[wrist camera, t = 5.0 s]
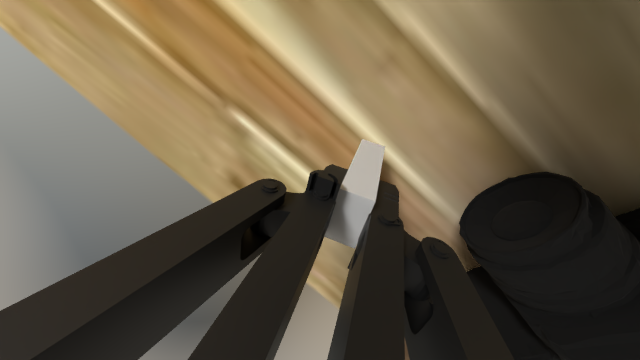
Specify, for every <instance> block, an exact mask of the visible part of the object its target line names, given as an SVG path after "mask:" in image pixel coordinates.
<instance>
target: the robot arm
mask: <svg viewBox="0 0 640 360" xmlns="http://www.w3.org/2000/svg"><path fill="white" fill-rule="evenodd" d="M384 150H385V146H382V145H379V144H376V143H373V142H370V141H367V140H364V139H362V141H361V143H360V145H359V147H358V150H357V152H356V154H355V156H354V158H353V160H352V163H351V165H350V167H349V169H348V170H347V169H344V168H341V167H339V166H336V165H333V164H332V165H329V166H327V167H326V168H325V169H324V170H316V171H313V172H311V173H310V176H309V180H308V184H307V188H306V191H305V192H304V193H291V192H286V187H285V185H284V184H283V183H282V182H280V181H277V180H275V179H261V180H258V181H256V182H254V183H252V184H250V185H248V186H246V187H244V188H242V189H240V190H238V191H236V192H234V193H232V194H230V195H228V196H227V197H225V198H223V199H221V200H219V201H217V202H215V203H213V204H211V205H209V206H207V207H205V208H203V209H201V210H199V211H197V212H195V213H193V214H191V215H189V216H187V217H185V218H183V219H181V220H179V221H177V222H175V223H173V224H171V225H169V226H167V227H165V228H163V229H161V230H159V231H157V232H155V233H153V234H151V235H150V236H147V237H146V238H144V239H142V240H140V241H138V242H136V243H134V244H132V245H130V246H128V247H126V248H124V249H122V250H120V251H118V252H116V253H114V254H112V255H110V256H108V257H106V258H104V259H102V260H100V261H98V262H96V263H94V264H92V265H90V266H88V267H86V268H84V269H82V270H80V271H79V272H76V273H74V274H72V275H70V276H68V277H66V278H64V279H62V280H60V281H59V282H57V283H55V284H53V285H51V286H49V287H47V288H45V289H43V290H41V291H39V292H37V293H35V294H33V295H31V296H29V297H27V298H25V299H23V300H21V301H19V302H17V303H15V304H13V305H11V306H9V307H7V308H5V309H3V310H1V311H0V360H138V359H139V358H140V357H141V356H143V355H144V354H145V353H146V352H147V351H148V350H149V349H151V348H152V347H153V346H154V345H155V344H156V343H157V342H159V341H160V340H161V339H162V338H163V337H165V336H166V335H167V334H168V333H169V332H170V331H172V330H173V329H174V328H175V327H176V326H177V325H178V324H180V323H181V322H182V321H183V320H184V319H185V318H187V317H188V316H189V315H190V314H191V313H192V312H194V311H195V310H196V309H197V308H198V307H199V306H201V305H202V304H203V303H204V302H205V301H206V300H207V299H209V298H210V297H211V296H212V295H213V294H214V293H216V292H217V291H218V290H219V289H220V288H221V287H223V286H224V285H225V284H226V283H227V282H228V281H230V280H231V279H232V278H233V277H234V276H235V275H237V274H238V273H239V272H240V271H241V270H242V269H243V268H245V267H246V266H247V265H248V264H249V263H250V262H251V261H253V260H254V259H255V258H256V257H257V256H259V255H260V254H261V253H262V254H261V255H260V257H259V258H258V260H257V261H256V263H255V264H254V265H253V267H252V268H251V270H250V271H249V273H248V274H247V276H246V277H245V278H244V280H243V281H242V283H241V284H240V286H239V287H238V288H237V290H236V291H235V293H234V294H233V296H232V297H231V298H230V300H229V301H228V303H227V304H226V306H225V307H224V308H223V310H222V311H221V313H220V314H219V316H218V317H217V318H216V320H215V321H214V323H213V324H212V326H211V327H210V329H209V330H208V331H207V333H206V334H205V336H204V337H203V339H202V340H201V341H200V343H199V344H198V346H197V347H196V349H195V350H194V351H193V353H192V354H191V356H190V357H189V359H188V360H274V357H275V355H276V352H277V350H278V348H279V345H280V343H281V340H282V338H283V336H284V333H285V331H286V328H287V326H288V323H289V321H290V319H291V316H292V314H293V312H294V309H295V307H296V304H297V302H298V300H299V297H300V295H301V292H302V290H303V287H304V285H305V283H306V280H307V278H308V276H309V273H310V271H311V268H312V266H313V264H314V261H315V259H316V256H317V254H318V252H319V249H320V247H321V244H322V241H323V238H324V237H327V238H329V239H332V240H334V241H337V242H339V243H342V244H344V245H347V246H350V247H352V248H355V247H356V245H357V247H356V250H355V252H354V254H353V257H352V259H351V261H350V264H349V266H348V269H349V273H348V277H347V281H346V285H345V289H344V293H343V297H342V301H341V306H340V310H339V314H338V318H337V322H336V326H335V330H334V334H333V338H332V343H331V347H330V351H329V355H328V359H327V360H405V341H406V345H407V350H408V354H409V359H410V360H514V358H513V356H512V354H511V352H510V351H509V349H508V347H507V345H506V343H505V342H504V340H503V338H502V336H501V334H500V333H499V331H498V329H497V327H496V325H495V323H494V322H493V320H492V318H491V316H490V314H489V313H488V311H487V309H486V307H485V305H484V303H483V302H482V300H481V298H480V296H479V294H478V293H477V291H476V289H475V287H474V285H473V283H472V282H471V280H470V278H469V276H468V274H467V273H466V271H465V269H464V267H463V265H462V263H461V262H460V260H459V258H458V256H457V254H456V253H455V252H454V250H453V249H452V248H451V247H450V246H449V245H447V244H446V243H445V242H443V241H441V240H439V239H436V238H433V237H426V238H423V240H422V241H421V242H420V241H419V240H417V239H415V238H414V237H412V236H411V235H409V234H408V233H407V232H406V231H404V226H403V222H402V220H401V219H400V218H399V203H398V202H399V191H398V189H397V188H396V186H395V185H392V184H390V183H387V182H384V181H381V180H379V179H380V173H381V167H382V162H383V156H384Z"/></svg>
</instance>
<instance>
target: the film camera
mask: <svg viewBox="0 0 640 360" xmlns="http://www.w3.org/2000/svg"><path fill="white" fill-rule="evenodd" d="M459 224H460V235H461V236H462V237H463V239H464V240H465V242H466V244H467V247H468V250H469V251H470V253H471V254H472V256H473V257H474V259H475V260H476V261H477V262H478V263H479V264H480V265H481V267H477V268H474V269H472V270H470V271H468V272H467V274H468V276H469V278H470V280H471V282H472V283H473V285H474V287H475V289H476V291H477V293H478V294H479V296H480V298H481V300H482V302H483V303H484V305H485V307H486V309H487V311H488V313H489V314H490V316H491V318H492V320H493V322H494V323H495V325H496V327H497V329H498V331H499V333H500V334H501V336H502V338H503V340H504V342H505V343H506V345H507V347H508V349H509V351H510V352H511V354H512V356H513V358H514V360H640V208H639V209H637V210H634V211H631V212H628V213H626V214H623V215H620V216H617V217H614V215H613V214H612V213H611V211H610V210H609V209H608V207H607V206H606V205H605V204H604V202H603V201H602V200H601V199H600V197H599V196H597V195H595V194H593V193H591V192H589V191H587V190H585V189H583V188H582V186H581V185H580V184H578V183H577V182H576V181H574V180H573V179H572V178H569V177H566V176H563V175H559V174H555V173H550V172H538V173H530V174H525V175H520V176H517V177H514V178H508V179H506V180H504V181H502V182H500V183H498V184H496V185H494V186H492V187H490V188H488V189H486V190H485V191H483V192H482V193H480V194H479V195H477V196H476V197H475V198H474V199H473V200H472V201H471V202H470V203H469V205H468V206H467V207H466V209H465V211H464V213H463V215H462V217H461V220H460V222H459Z"/></svg>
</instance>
